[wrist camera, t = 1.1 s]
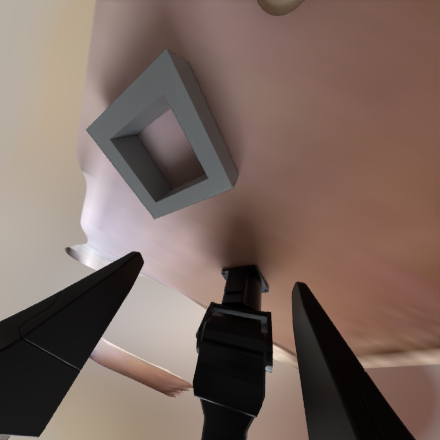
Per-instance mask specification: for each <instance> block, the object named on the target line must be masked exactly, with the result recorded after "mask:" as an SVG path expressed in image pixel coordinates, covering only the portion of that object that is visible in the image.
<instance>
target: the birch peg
mask: <svg viewBox="0 0 440 440" xmlns="http://www.w3.org/2000/svg"><path fill="white" fill-rule="evenodd" d="M257 1H258V3H259V5H260V6H261V8H262V9H263V10H264V11H265V12H267V13H268V14H270V15H274V16H280V15H285V14H287V13H289V12H291V11H293V10H294V9H296V8H297V7H298V6H299V5H300V4H301V3H302V2H303V1H304V0H257Z"/></svg>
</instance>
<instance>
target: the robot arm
mask: <svg viewBox="0 0 440 440" xmlns="http://www.w3.org/2000/svg"><path fill="white" fill-rule="evenodd" d="M143 264H144V260H143V258H142V256H141V253H140V252H135V251H133V252H131V253H129V254H127V255H125V256H124V257H122V258H120V259H118V260H116V261H114V262H113V263H111V264H109V265H107V266H105V267H103V268H102V269H100V270H98V271H96V272H94V273H92V274H91V275H89V276H87V277H85V278H83V279H81V280H80V281H78V282H76V283H74V284H72V285H70V286H69V287H67V288H65V289H63V290H61V291H60V292H58V293H56V294H54V295H52V296H50V297H48V298H46V299H45V300H43V301H41V302H39V303H37V304H35V305H33V306H31V307H29V308H27V309H25V310H23V311H21V312H19V313H17V314H15V315H13V316H10V317H8V318H6V319H4V320H2V321H0V440H8V438H9V437H10V436H25V437H39V436H40V435H41V433H42V432H43V430H44V429H45V427H46V426H47V424H48V423H49V421H50V419H51V418H52V416H53V414H54V413H55V411H56V410H57V408H58V406H59V405H60V403H61V402H62V400H63V398H64V397H65V395H66V394H67V392H68V390H69V389H70V387H71V385H72V384H73V382H74V381H75V379H76V377H77V376H78V374H79V373H80V370H81V369H82V368H83V366H84V364H85V363H86V361H87V359H88V358H89V356H90V355H91V353H92V351H93V350H94V348H95V347H96V345H97V343H98V342H99V340H100V338H101V337H102V335H103V334H104V332H105V330H106V329H107V327H108V326H109V324H110V322H111V321H112V319H113V317H114V316H115V314H116V313H117V311H118V309H119V308H120V306H121V304H122V303H123V301H124V300H125V298H126V297H127V295H128V293H129V292H130V290H131V288H132V286H133V285H134V282H135V281H136V279H137V277H138V275H139V273H140V271H141V269H142V267H143ZM221 274H222V275H223V277H224V278H225V280H226V285H225V289H224V296H223V300H222V304H217V303H215V302H211V303H210V306H209V307H208V309H207V311H206V313H205V316H204V318H203V320H202V322H201V325H200V327H199V329H198V331H197V333H196V338H197V347H196V348H197V353H199V355H198V360H197V365H196V370H195V374H194V379H193V389H194V395H195V397H198V398H200V401H201V405H202V409H203V414H204V425H203V432H202V439H201V440H247V433H248V429H249V427H250V425H251V423H252V421H253V420H254V418H255V417H257V415H258V413H259V411H260V409H261V407H262V403H263V401H264V398H265V373H266V371H267V372H270V373H272V367H273V342H272V321H271V312H268V311H267V312H263V311H261V293H266V292H269V288H268V286H267V285H266V283H265V281H264V279H263V277H262V275H261V273H260V271H259V269H258V267H257V266H255V265H252V266H245V267H239V268H232V269H226V270H222V273H221ZM292 317H293V331H294V338H295V345H296V352H297V359H298V366H299V373H300V380H301V387H302V394H303V401H304V408H305V415H306V422H307V429H308V436H309V440H416V439H415V438H414V437H413V436H412V434H411V433H410V432H409V430H408V429H407V428H406V426H405V425H404V424H403V422H402V421H401V420H400V418H399V417H398V416H397V414H396V413H395V412H394V411H393V409H392V408H391V406H390V405H389V404H388V402H387V401H386V400H385V398H384V397H383V395H382V394H381V392H380V391H379V390H378V388H377V387H376V385H375V384H374V382H373V381H372V379H371V378H370V377H369V375H368V374H367V372H365V371H364V368H363V366H362V365H361V363H360V362H359V361H358V359H357V358H356V356H355V355H354V353H353V352H352V350H351V349H350V347H349V346H348V345H347V343H346V342H345V340H344V339H343V337H342V336H341V334H340V333H339V331H338V330H337V328H336V327H335V326H334V324H333V323H332V321H331V320H330V318H329V317H328V315H327V314H326V312H325V311H324V309H323V308H322V307H321V305H320V304H319V302H318V301H317V299H316V298H315V296H314V295H313V293H312V292H311V291H310V289H309V288H308V286H307V285H306V284H305V283H303V282H296V283H295V285H294V288H293V290H292Z"/></svg>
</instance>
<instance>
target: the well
mask: <svg viewBox="0 0 440 440" xmlns="http://www.w3.org/2000/svg"><path fill="white" fill-rule="evenodd" d="M170 108H171V109H172V111H173V113H174V115H175V116H176V118H177V120H178V122H179V124H180V126H181V128H182V130H183V131H184V133H185V135H186V137H187V139H188V141H189V143H190V145H191V147H192V148H193V150H194V152H195V154H196V156H197V158H198V160H199V162H200V163H201V165H202V167H203V169H204V171H205V174H203V175H201V176H199V177H197V178H195V179H193V180H191V181H189V182H187V183H184V184H182V185H180V186H178V187H176V188H174V189H171V187H170V186H169V184H168V182H167V181H166V179H165V178H164V176H163V175H162V173H161V172H160V170H159V169H158V167H157V166H156V164H155V162H154V161H153V159H152V158H151V156H150V155H149V153H148V152H147V150H146V149H145V147H144V146H143V144H142V143H141V141H140V139H139V138H138V136H137V135H136V134H138V133H139V132H140V131H142V130H143V129H144V128H145V127H147V126H148V125H149V124H151V123H152V122H153V121H154V120H156V119H157V118H158V117H160V116H161V115H162V114H163V113H165V112H166V111H167V110H169V109H170ZM86 131H87V132H88V133H89V134H90V136H91V137H92V138H93V140H94V141H95V142H96V144H97V145H98V146H99V147H100V149H101V150H102V151H103V153H104V154H105V155H106V157H107V158H108V159H109V161H110V162H111V163H112V164H113V166H114V167H115V168H116V170H117V171H118V172H119V174H120V175H121V176H122V177H123V179H124V180H125V181H126V183H127V184H128V185H129V187H130V188H131V189H132V191H133V192H134V193H135V194H136V196H137V197H138V198H139V200H140V201H141V202H142V204H143V205H144V206H145V207H146V209H147V210H148V211H149V213H150V214H151V215H152V217H153V218H154V219H157V218H159V217H162V216H164V215H167V214H169V213H172V212H174V211H177V210H179V209H182V208H184V207H187V206H190V205H192V204H195V203H197V202H200V201H202V200H205V199H207V198H210V197H212V196H215V195H217V194H220V193H222V192H225V191H228V190H230V189H233V187H234V185H235V183H236V181H237V178H238V176H239V174H238V172H237V170H236V168H235V165H234V163H233V161H232V159H231V156H230V154H229V152H228V150H227V147H226V145H225V143H224V141H223V138H222V136H221V134H220V131H219V129H218V127H217V125H216V122H215V120H214V118H213V116H212V113H211V111H210V109H209V107H208V104H207V102H206V100H205V98H204V95H203V93H202V91H201V89H200V86H199V84H198V82H197V80H196V77H195V75H194V73H193V71H192V68H191V66H190V64H189V62H187V61H185V60H184V59H182V58H181V57H179V56H178V55H176V54H174V53H173V52H171V51H170V50H168V49H165V50H164V51H163V52H162V53H161V54H160V55H159V56H158V57H157V58H156V59H155V60H154V61H153V62H152V63H151V65H150V66H149V67H148V68H147V69H146V70H145V71H144V72H143V73H142V74H141V75H140V76H139V77H138V78H137V79H136V80H135V81H134V82H133V83H132V84H131V85H130V86H129V87H128V88H127V89H126V90H125V91H124V92H123V93H122V94H121V95H120V96H119V97H118V98H117V99H116V100H115V101H114V102H113V103H112V104H111V105H110V106H109V107H108V108H107V109H106V110H105V111H104V112H103V113H102V114H101V115H100V116H99V117H98V118H97V119H96V120H95V121H94V122H93V123H92V124H91V125H90V126H89V127H88V128H87V129H86Z"/></svg>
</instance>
